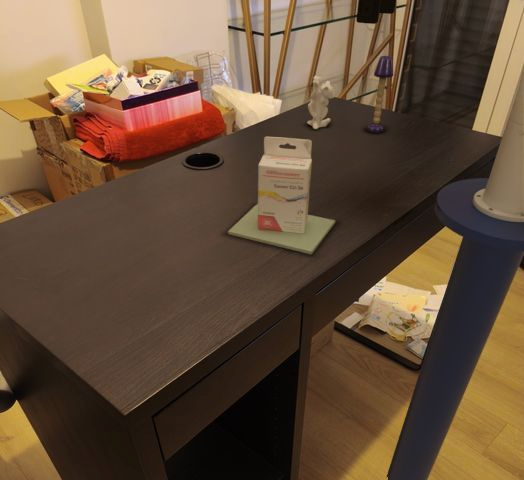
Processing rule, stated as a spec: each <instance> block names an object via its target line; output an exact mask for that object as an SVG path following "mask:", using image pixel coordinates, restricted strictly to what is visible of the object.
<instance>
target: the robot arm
mask: <svg viewBox="0 0 524 480" xmlns="http://www.w3.org/2000/svg"><path fill="white" fill-rule="evenodd" d="M396 4H397V0H358V1H357V9H356V20H355V21H356V23H358V24H367V25H368V24H369V25H376V24H377V23H378V22H379V20H380V14H384V15H385V14H388V15H393V14H394V13H395V12H396V11H395V10H396V6H397V5H396ZM488 178H489V179H488V182H487V185H486V188H485V189H482V190H480V191H478V192H476V194H475V195H474V198H473V204H474V206H475V207H476V209H477V210H479V211H480V212H482V213H483V214H485V215H487V216H490V217H492V218H496V219H499V220H503V221H509V222H524V65H523V67H522V72H521V76H520V81H519V83H518V88H517V91H516V94H515V98H514V101H513V104H512V107H511V110H510V113H509V117H508V119H507V122H506V124H505V128H504V131H503V134H502V137H501V140H500V143H499V146H498V149H497V152H496V155H495V159H494V162H493V164H492V167H491V171H490V174H489V176H488Z"/></svg>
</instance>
